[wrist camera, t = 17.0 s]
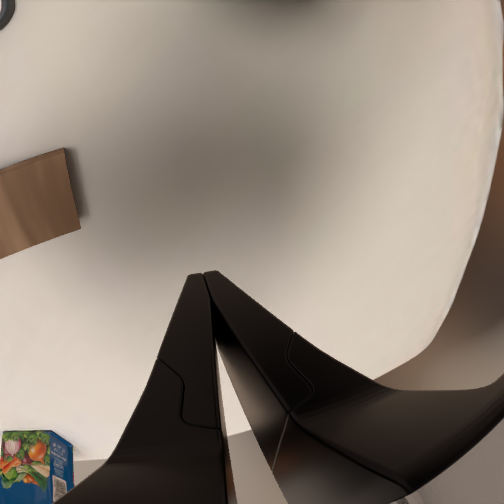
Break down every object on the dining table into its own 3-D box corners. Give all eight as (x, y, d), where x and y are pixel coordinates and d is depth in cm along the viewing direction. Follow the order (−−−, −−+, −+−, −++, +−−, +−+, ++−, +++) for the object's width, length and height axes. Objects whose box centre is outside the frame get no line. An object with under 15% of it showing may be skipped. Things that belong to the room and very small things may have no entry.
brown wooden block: (64, 152, 14) (-49, 197, 10) (81, 228, 17) (-22, 268, 13) (63, 147, 15) (-41, 188, 11) (78, 218, 18) (-18, 254, 14)
